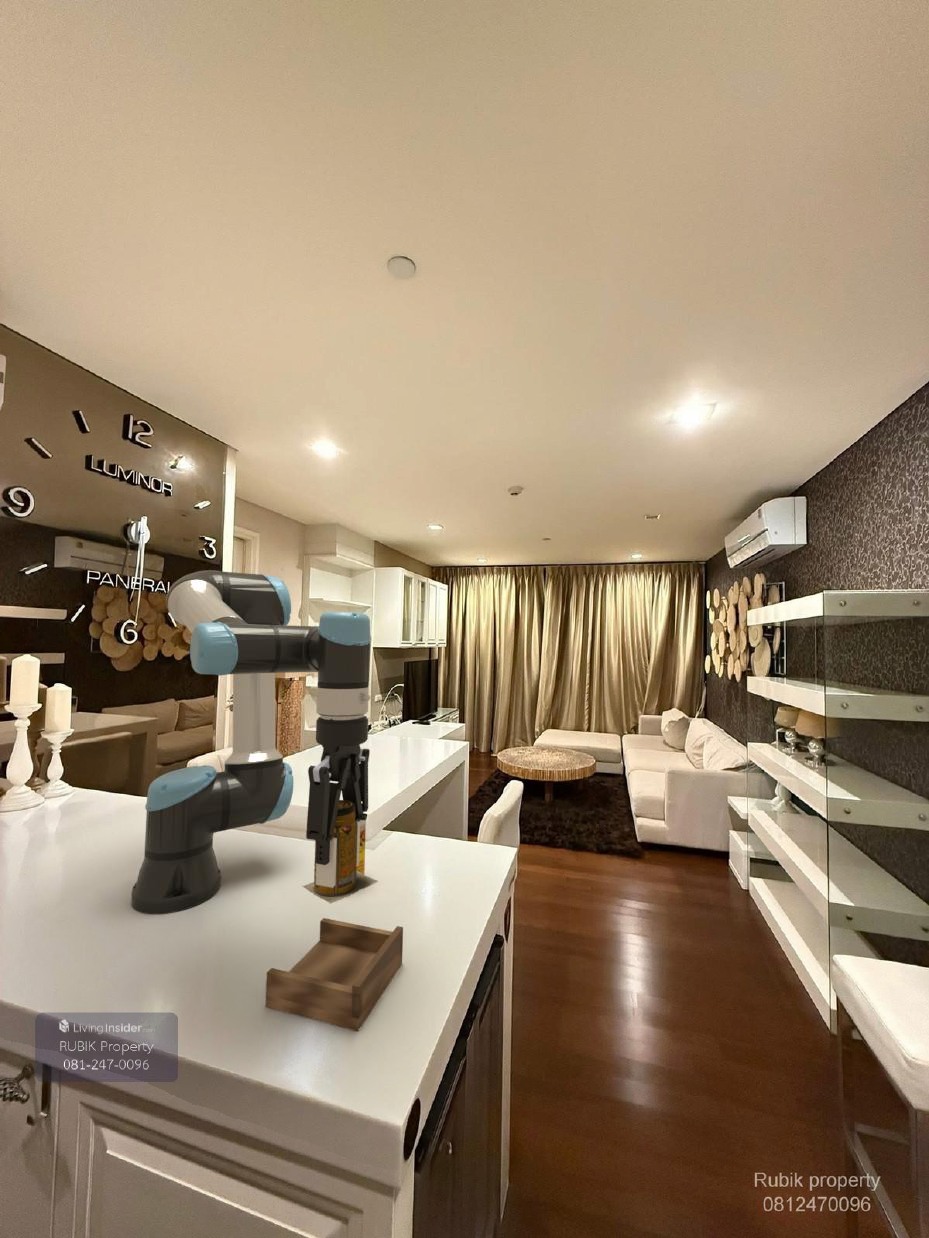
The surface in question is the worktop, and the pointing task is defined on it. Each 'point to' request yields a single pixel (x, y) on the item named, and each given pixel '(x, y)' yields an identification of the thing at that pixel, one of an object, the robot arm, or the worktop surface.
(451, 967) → the worktop surface
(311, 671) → the robot arm
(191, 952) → the worktop surface
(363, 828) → the beer can
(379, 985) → the wooden serving tray
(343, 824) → the condiment
